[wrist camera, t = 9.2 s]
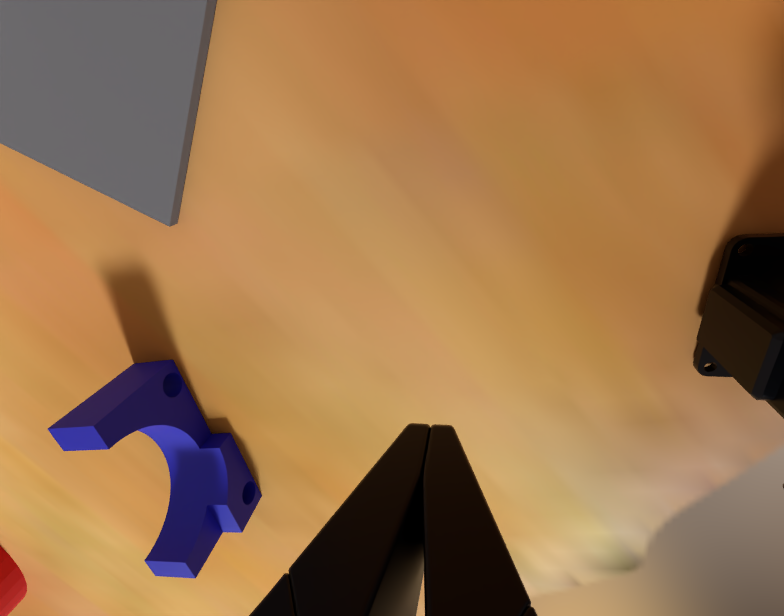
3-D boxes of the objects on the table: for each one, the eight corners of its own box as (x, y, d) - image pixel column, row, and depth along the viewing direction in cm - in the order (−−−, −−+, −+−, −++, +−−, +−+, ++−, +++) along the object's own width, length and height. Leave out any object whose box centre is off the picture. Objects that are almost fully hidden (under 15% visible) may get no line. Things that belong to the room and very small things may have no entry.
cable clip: (262, 494, 29) (216, 579, 24) (210, 494, 30) (155, 575, 25) (194, 356, 24) (117, 424, 19) (135, 362, 25) (47, 428, 20)
